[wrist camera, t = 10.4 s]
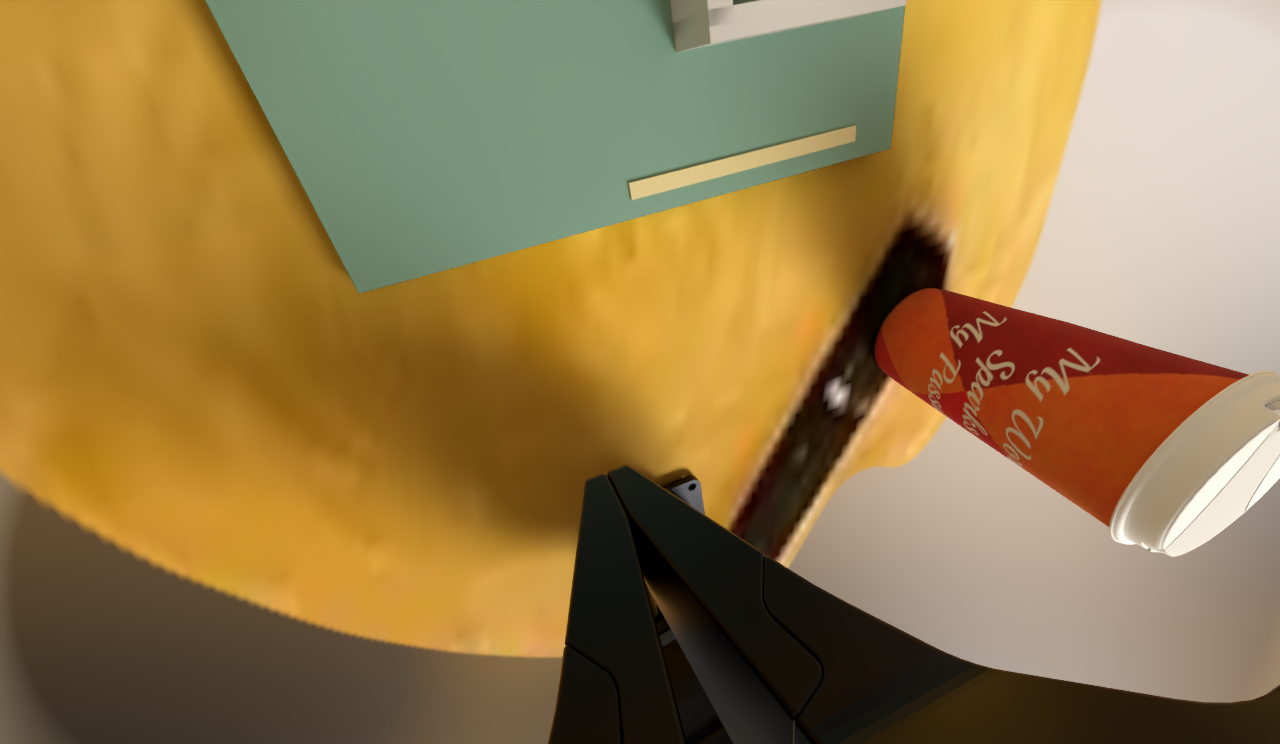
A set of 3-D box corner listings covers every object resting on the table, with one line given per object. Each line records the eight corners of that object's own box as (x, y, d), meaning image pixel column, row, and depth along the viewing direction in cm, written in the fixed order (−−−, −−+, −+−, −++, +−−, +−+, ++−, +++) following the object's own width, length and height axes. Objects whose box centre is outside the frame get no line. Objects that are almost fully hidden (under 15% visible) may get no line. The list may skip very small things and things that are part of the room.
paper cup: (875, 277, 25) (1247, 418, 13) (981, 261, 27) (1377, 370, 16) (846, 402, 29) (1116, 596, 17) (941, 379, 31) (1236, 537, 19)
